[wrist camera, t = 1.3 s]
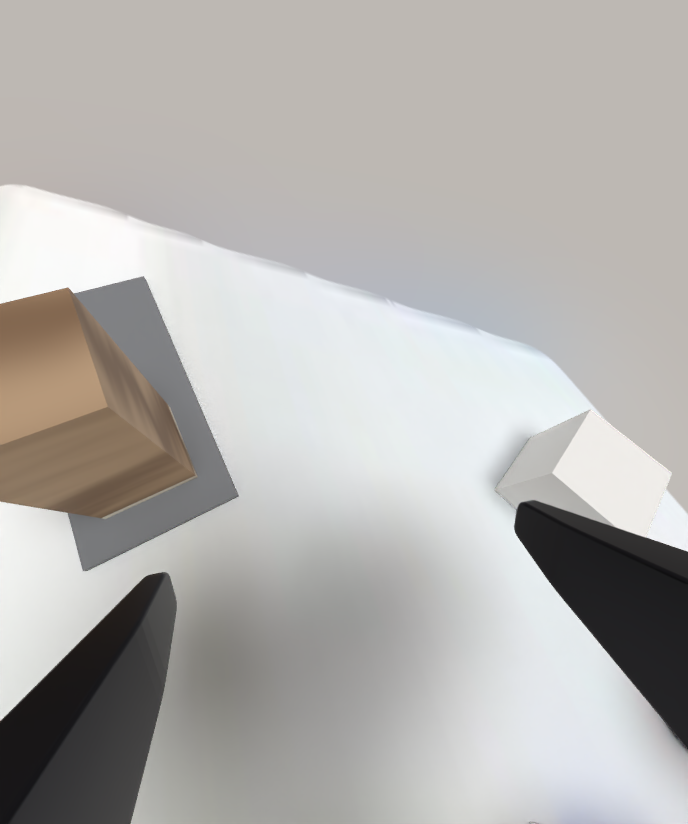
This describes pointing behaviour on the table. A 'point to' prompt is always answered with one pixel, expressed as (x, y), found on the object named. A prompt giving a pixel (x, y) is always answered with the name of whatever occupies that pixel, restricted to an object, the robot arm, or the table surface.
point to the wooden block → (79, 415)
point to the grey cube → (588, 474)
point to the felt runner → (159, 363)
